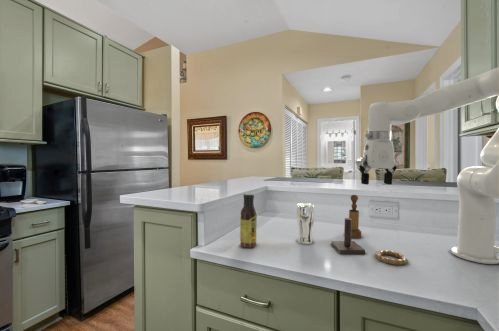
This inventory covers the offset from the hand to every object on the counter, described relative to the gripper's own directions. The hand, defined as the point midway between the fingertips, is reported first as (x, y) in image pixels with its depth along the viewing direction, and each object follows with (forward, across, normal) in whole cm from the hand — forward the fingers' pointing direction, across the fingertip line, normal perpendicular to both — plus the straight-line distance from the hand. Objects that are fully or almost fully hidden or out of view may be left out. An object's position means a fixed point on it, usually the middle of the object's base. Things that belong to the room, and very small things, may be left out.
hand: (376, 184), depth 90 cm
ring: (+24, 0, -8) cm, 25 cm away
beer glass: (+25, -21, +13) cm, 35 cm away
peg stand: (+25, -9, +2) cm, 26 cm away
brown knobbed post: (+25, +3, +16) cm, 29 cm away
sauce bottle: (+26, -45, +13) cm, 53 cm away
